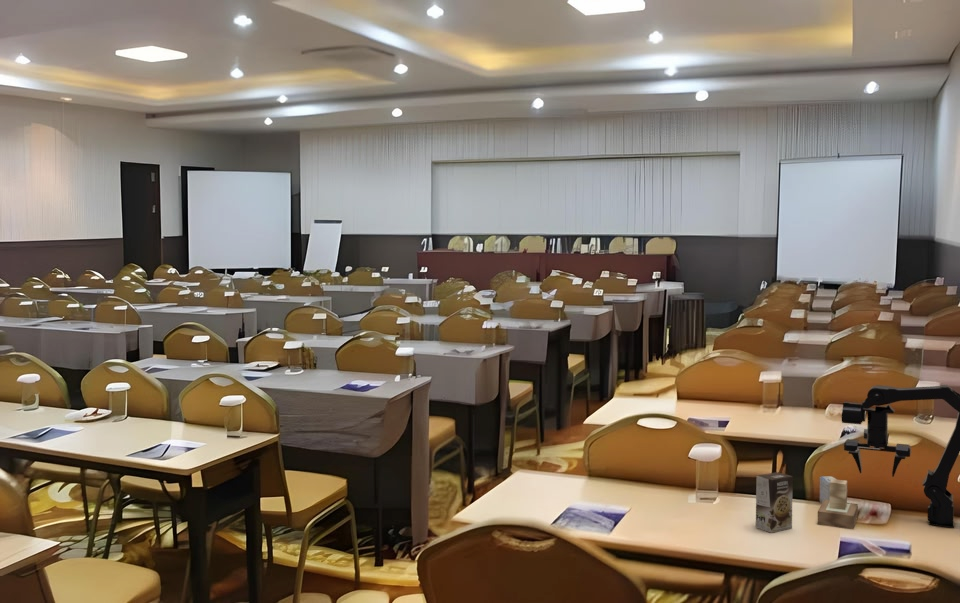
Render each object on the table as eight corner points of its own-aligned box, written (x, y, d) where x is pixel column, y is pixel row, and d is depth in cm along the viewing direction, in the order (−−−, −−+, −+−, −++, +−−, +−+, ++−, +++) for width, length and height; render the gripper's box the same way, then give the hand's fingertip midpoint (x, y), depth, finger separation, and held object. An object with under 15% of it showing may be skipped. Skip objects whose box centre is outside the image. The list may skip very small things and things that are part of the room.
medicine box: (842, 508, 266) (842, 482, 266) (828, 508, 266) (828, 482, 266) (832, 501, 274) (832, 476, 273) (819, 501, 274) (819, 476, 274)
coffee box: (771, 533, 242) (771, 479, 242) (754, 527, 248) (755, 474, 247) (793, 528, 247) (793, 475, 246) (776, 522, 252) (776, 471, 252)
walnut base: (857, 516, 258) (857, 503, 257) (853, 529, 246) (853, 515, 245) (823, 511, 263) (823, 498, 262) (817, 524, 251) (817, 510, 250)
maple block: (846, 506, 255) (847, 480, 254) (845, 509, 251) (845, 484, 250) (831, 504, 257) (831, 478, 257) (829, 507, 253) (829, 482, 253)
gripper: (911, 424, 260) (911, 472, 260) (847, 418, 269) (847, 465, 270) (910, 430, 250) (909, 480, 251) (844, 424, 259) (843, 473, 260)
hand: (876, 474), depth 258 cm, fingers open, 9 cm apart
